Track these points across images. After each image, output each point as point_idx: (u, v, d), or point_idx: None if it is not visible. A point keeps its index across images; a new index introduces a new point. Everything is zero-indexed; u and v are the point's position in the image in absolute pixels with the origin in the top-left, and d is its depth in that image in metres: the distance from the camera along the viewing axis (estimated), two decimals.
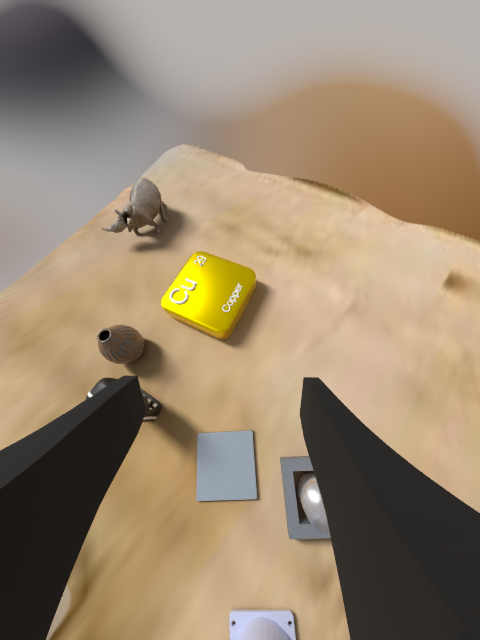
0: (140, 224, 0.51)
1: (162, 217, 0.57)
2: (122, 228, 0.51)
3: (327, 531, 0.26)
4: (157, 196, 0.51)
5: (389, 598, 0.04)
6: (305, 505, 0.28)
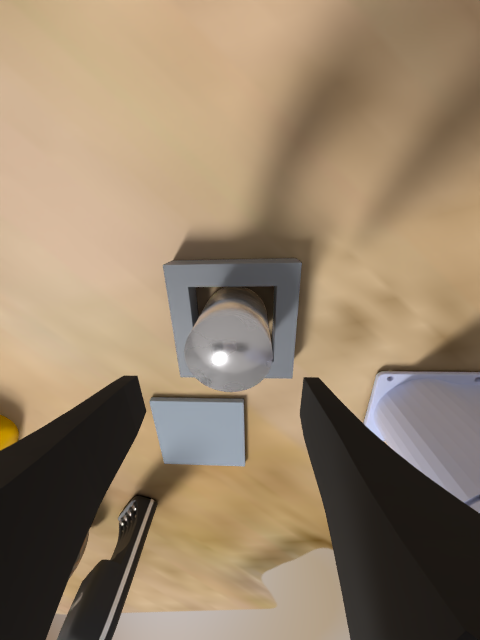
0: None
1: None
2: None
3: (269, 359, 0.13)
4: None
5: (389, 598, 0.04)
6: (226, 389, 0.14)
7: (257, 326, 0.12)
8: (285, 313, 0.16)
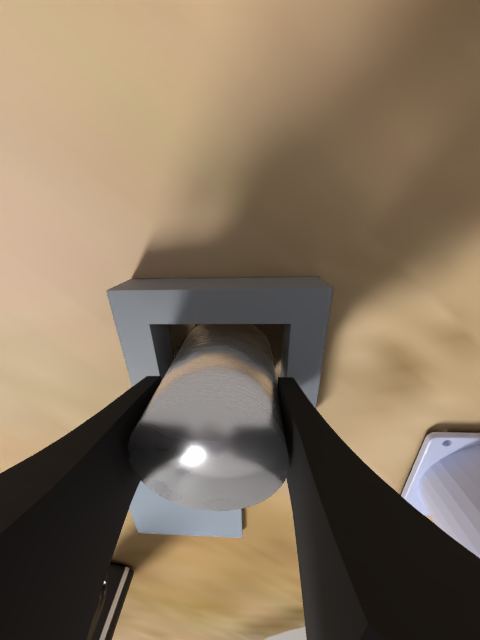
0: None
1: None
2: None
3: (282, 470, 0.07)
4: None
5: (327, 594, 0.04)
6: (207, 507, 0.08)
7: (261, 418, 0.06)
8: (303, 364, 0.10)
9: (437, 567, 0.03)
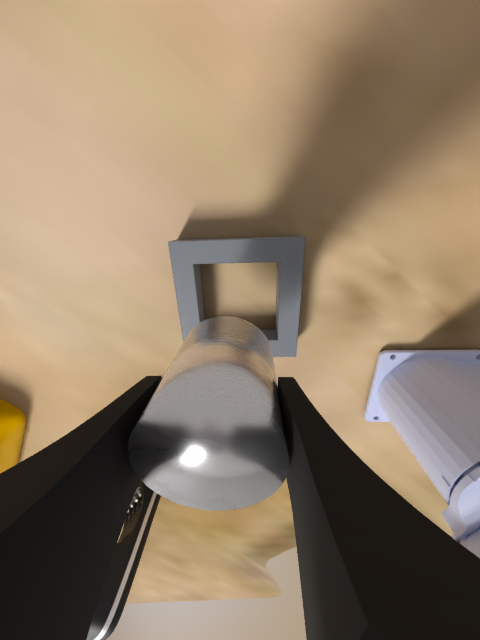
0: None
1: None
2: None
3: (282, 470, 0.07)
4: None
5: (327, 594, 0.04)
6: (207, 506, 0.08)
7: (261, 417, 0.06)
8: (289, 290, 0.16)
9: (437, 568, 0.03)
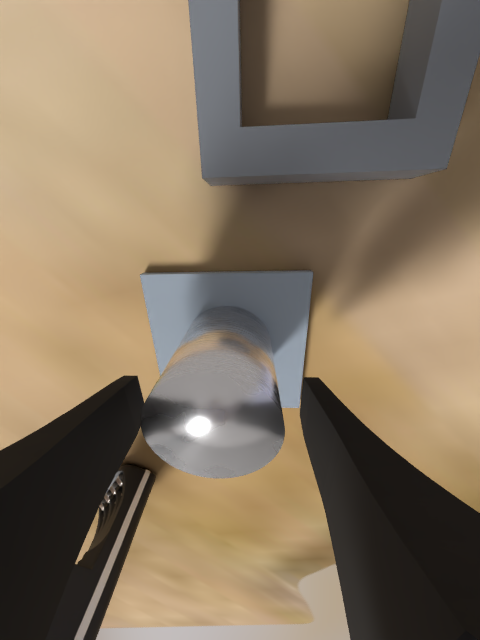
0: None
1: None
2: None
3: (278, 440, 0.08)
4: None
5: (389, 598, 0.04)
6: (208, 474, 0.09)
7: (263, 390, 0.07)
8: None
9: None
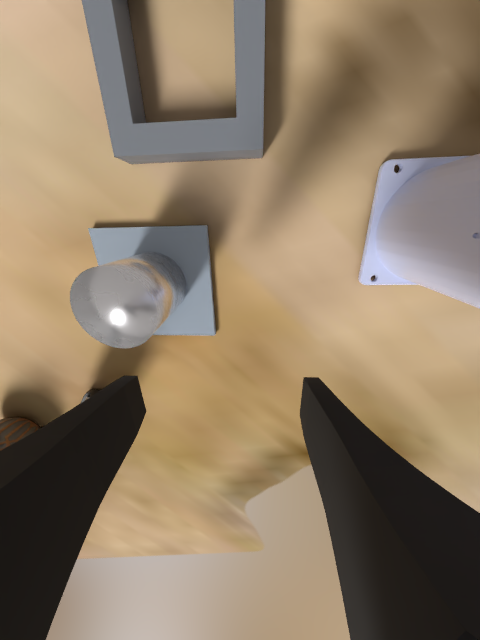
0: None
1: None
2: None
3: (153, 315, 0.13)
4: None
5: (389, 598, 0.04)
6: (118, 345, 0.14)
7: (137, 279, 0.12)
8: (247, 10, 0.11)
9: None
